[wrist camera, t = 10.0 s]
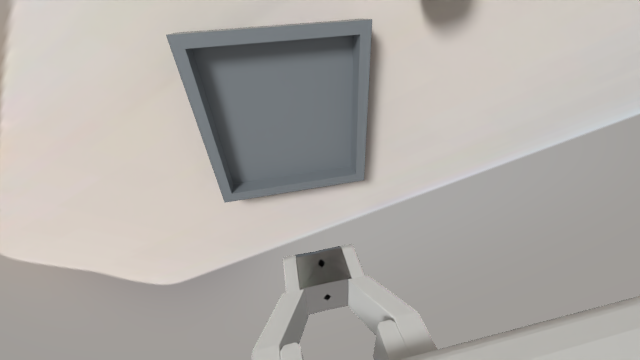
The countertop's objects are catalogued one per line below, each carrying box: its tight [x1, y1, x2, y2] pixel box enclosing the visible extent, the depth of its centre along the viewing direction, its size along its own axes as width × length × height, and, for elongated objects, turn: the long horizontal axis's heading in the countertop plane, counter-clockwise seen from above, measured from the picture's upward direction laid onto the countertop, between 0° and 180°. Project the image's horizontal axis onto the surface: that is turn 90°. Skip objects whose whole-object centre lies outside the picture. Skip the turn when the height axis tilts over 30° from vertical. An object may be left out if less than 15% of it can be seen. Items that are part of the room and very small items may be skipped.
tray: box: [166, 19, 372, 202], centre depth 25 cm, size 16×16×2 cm
